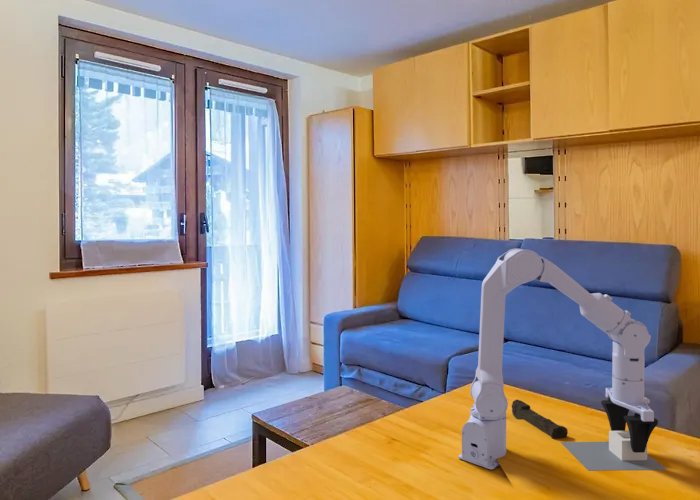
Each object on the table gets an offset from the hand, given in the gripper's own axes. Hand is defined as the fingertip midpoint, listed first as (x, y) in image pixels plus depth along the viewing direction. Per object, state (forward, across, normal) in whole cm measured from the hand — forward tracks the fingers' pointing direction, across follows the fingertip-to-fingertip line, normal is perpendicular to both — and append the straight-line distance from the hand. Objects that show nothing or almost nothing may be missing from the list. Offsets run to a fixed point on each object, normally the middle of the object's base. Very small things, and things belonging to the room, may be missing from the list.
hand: (627, 443), depth 103 cm
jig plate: (+3, 0, +4) cm, 5 cm away
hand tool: (+4, +18, +13) cm, 22 cm away
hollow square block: (+2, 0, 0) cm, 2 cm away
